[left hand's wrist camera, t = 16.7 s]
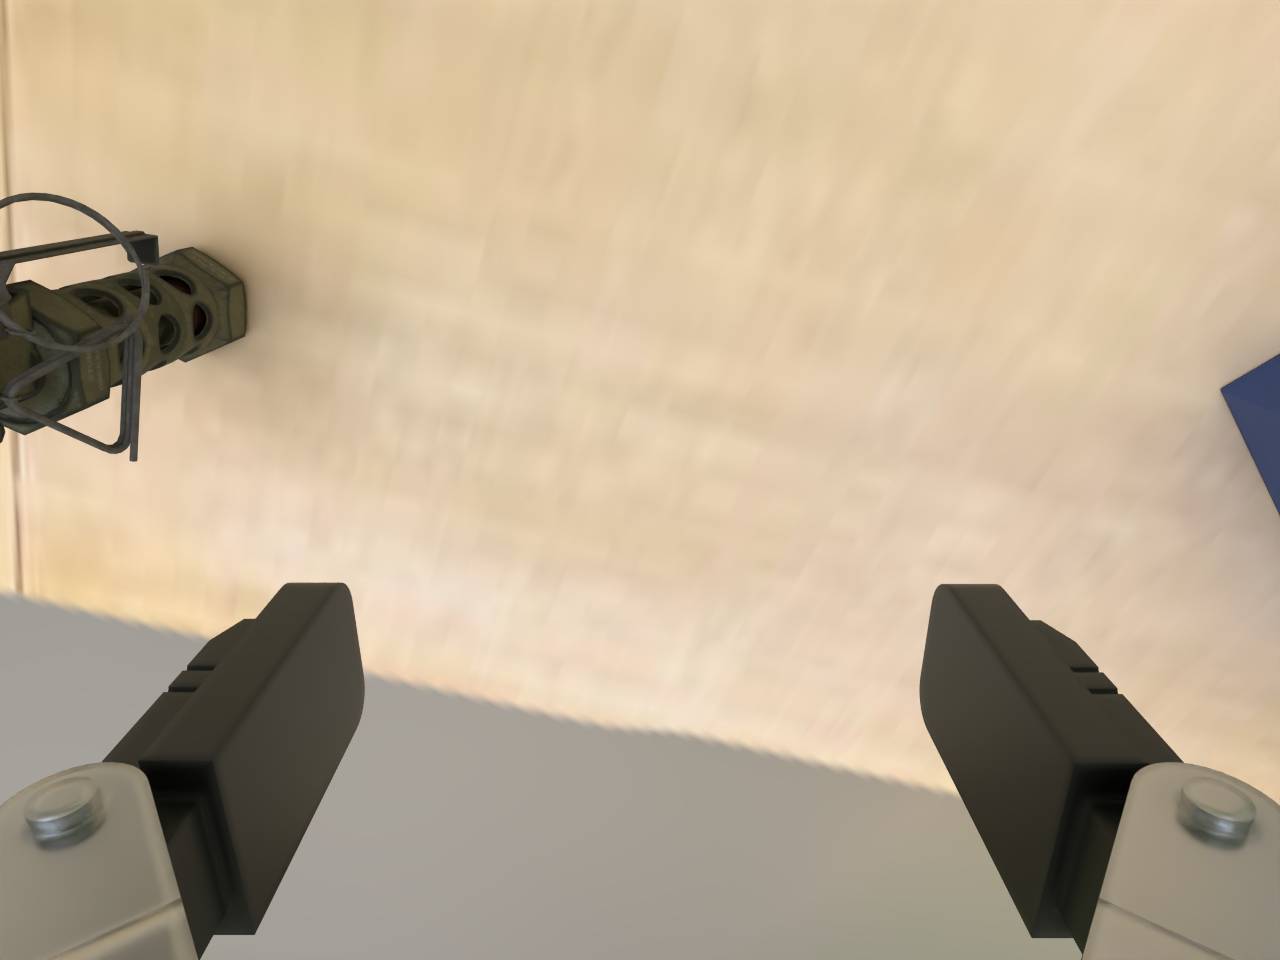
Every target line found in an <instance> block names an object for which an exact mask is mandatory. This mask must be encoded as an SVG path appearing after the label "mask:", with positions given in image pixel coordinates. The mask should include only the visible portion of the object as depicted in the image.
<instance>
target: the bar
mask: <svg viewBox="0 0 1280 960" xmlns="http://www.w3.org/2000/svg"><path fill="white" fill-rule="evenodd" d="M1221 391H1222V393H1223V396H1224V398H1225V400H1226V402H1227V404H1228V406H1229V408H1230V410H1231V412H1232V415H1233V417H1234V419H1235V421H1236V423H1237V425H1238V427H1239V429H1240V432H1241V434H1242V436H1243V438H1244V440H1245V442H1246V444H1247V446H1248V448H1249V451H1250V453H1251V455H1252V457H1253V459H1254V461H1255V463H1256V465H1257V467H1258V470H1259V472H1260V474H1261V476H1262V478H1263V480H1264V482H1265V484H1266V486H1267V489H1268V491H1269V493H1270V495H1271V497H1272V499H1273V501H1274V503H1275V506H1276V508H1277V510H1278V512H1279V514H1280V355H1278V356H1276V357H1275V358H1273V359H1271V360H1270V361H1268V362H1266V363H1264V364H1263V365H1261V366H1259V367H1258V368H1256V369H1254V370H1253V371H1251V372H1249V373H1247V374H1246V375H1244V376H1242V377H1241V378H1239V379H1237V380H1236V381H1234V382H1232V383H1231V384H1229V385H1227V386H1225V387H1224V388H1222V389H1221Z"/></svg>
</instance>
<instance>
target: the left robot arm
mask: <svg viewBox="0 0 1280 960" xmlns="http://www.w3.org/2000/svg"><path fill="white" fill-rule="evenodd" d="M364 692H365V686H364V675H363V668H362V661H361V655H360V648H359V641H358V634H357V628H356V621H355V614H354V608H353V601H352V596H351V593H350V590H349V588H348V587H347V585H346V584H344V583H287V584H285V585H284V586H283V587H282V588H281V589H280V590H279V591H278V592H277V594H276V595H275V596H274V597H273V598H272V600H271V601H270V602H269V603H268V604H267V606H266V607H265V608H264V609H263V610H262V612H261V613H260V614H259V615H258V616H257V618H256V619H243V620H242V621H240V622H239V623H237V624H235V625H234V626H232V627H231V628H229V629H227V630H226V631H224V632H222V633H221V634H219V635H218V636H216V637H214V638H213V639H211V640H210V641H209V642H208V643H207V644H206V645H205V646H204V647H203V649H202V650H201V651H200V652H199V653H198V654H197V655H196V656H195V658H194V659H193V660H192V661H191V662H190V663H189V664H188V666H187V671H182V672H181V673H180V674H179V676H178V677H177V678H176V679H175V680H174V681H173V682H172V683H171V685H170V686H169V690H168V692H163V694H162V695H161V696H160V697H159V698H158V699H157V700H156V701H155V703H154V704H153V705H152V706H151V707H150V708H149V709H148V710H147V712H146V713H145V714H144V715H143V716H142V717H141V718H140V719H139V721H138V722H137V723H136V724H135V725H134V726H133V727H132V728H131V730H130V731H129V732H128V733H127V734H126V735H125V736H124V737H123V739H122V740H121V741H120V742H119V743H118V744H117V745H116V746H115V748H114V749H113V750H112V751H111V752H110V753H109V754H108V755H107V757H106V758H105V759H104V760H103V761H102V762H101V763H93V764H87V765H82V766H78V767H74V768H70V769H67V770H64V771H61V772H58V773H56V774H53V775H51V776H48V777H46V778H44V779H41V780H40V781H37V782H35V783H33V784H31V785H30V786H28V787H26V788H25V789H23V790H21V791H19V792H18V793H16V794H15V795H14V796H12V797H11V798H9V799H8V800H7V801H5V802H4V803H3V804H2V805H1V806H0V960H200V958H201V957H202V955H203V953H204V951H205V949H206V947H207V946H208V944H209V942H210V940H211V938H212V937H213V935H255V933H256V931H257V929H258V927H259V925H260V923H261V921H262V919H263V917H264V915H265V913H266V911H267V909H268V907H269V905H270V903H271V901H272V899H273V896H274V895H275V893H276V890H277V888H278V886H279V884H280V882H281V880H282V878H283V876H284V874H285V872H286V870H287V868H288V866H289V864H290V862H291V860H292V858H293V856H294V854H295V852H296V850H297V848H298V846H299V844H300V842H301V840H302V838H303V836H304V834H305V832H306V830H307V828H308V826H309V824H310V822H311V820H312V818H313V816H314V814H315V812H316V810H317V808H318V806H319V804H320V802H321V800H322V798H323V796H324V794H325V792H326V790H327V787H328V785H329V783H330V781H331V779H332V777H333V775H334V773H335V771H336V769H337V767H338V765H339V763H340V761H341V759H342V757H343V755H344V753H345V751H346V749H347V747H348V745H349V743H350V741H351V739H352V737H353V735H354V733H355V731H356V729H357V727H358V724H359V721H360V718H361V715H362V710H363V704H364ZM920 704H921V710H922V715H923V719H924V722H925V725H926V728H927V730H928V732H929V734H930V736H931V738H932V740H933V742H934V744H935V746H936V748H937V750H938V752H939V754H940V756H941V758H942V760H943V762H944V764H945V766H946V768H947V770H948V772H949V774H950V776H951V778H952V780H953V782H954V784H955V786H956V788H957V790H958V792H959V794H960V796H961V798H962V800H963V802H964V804H965V806H966V808H967V810H968V812H969V814H970V816H971V818H972V820H973V822H974V824H975V826H976V828H977V830H978V832H979V834H980V836H981V838H982V840H983V842H984V844H985V846H986V848H987V850H988V852H989V854H990V856H991V858H992V860H993V862H994V864H995V866H996V868H997V870H998V871H999V874H1000V876H1001V878H1002V880H1003V882H1004V884H1005V886H1006V888H1007V889H1008V891H1009V894H1010V895H1011V897H1012V899H1013V902H1014V903H1015V905H1016V908H1017V910H1018V911H1019V913H1020V915H1021V917H1022V919H1023V921H1024V923H1025V925H1026V927H1027V929H1028V931H1029V933H1030V935H1031V937H1032V938H1074V940H1075V942H1076V944H1077V946H1078V947H1079V949H1080V951H1081V953H1082V958H1081V960H1280V806H1279V805H1278V804H1277V803H1276V802H1275V801H1274V800H1272V799H1271V798H1269V797H1268V796H1266V795H1265V794H1264V793H1262V792H1261V791H1259V790H1257V789H1255V788H1254V787H1252V786H1250V785H1249V784H1247V783H1245V782H1243V781H1241V780H1239V779H1236V778H1234V777H1232V776H1229V775H1227V774H1224V773H1222V772H1219V771H1216V770H1213V769H1210V768H1206V767H1202V766H1198V765H1193V764H1187V763H1184V762H1183V761H1182V760H1181V759H1180V758H1179V757H1178V756H1177V754H1176V753H1175V752H1174V751H1173V750H1172V749H1171V748H1170V747H1169V746H1168V744H1167V743H1166V742H1165V741H1164V740H1163V739H1162V738H1161V737H1160V736H1159V734H1158V733H1157V732H1156V731H1155V730H1154V729H1153V728H1152V727H1151V725H1150V724H1149V723H1148V722H1147V721H1146V720H1145V719H1144V718H1143V717H1142V715H1141V714H1140V713H1139V712H1138V711H1137V710H1136V709H1135V708H1134V707H1133V705H1132V704H1131V703H1130V702H1129V701H1128V700H1127V699H1126V698H1125V696H1124V695H1123V694H1118V692H1117V688H1116V686H1115V685H1114V684H1113V683H1112V682H1111V681H1110V680H1109V679H1108V678H1107V676H1106V675H1105V674H1104V673H1099V671H1098V666H1097V665H1096V664H1095V663H1094V662H1093V661H1092V660H1091V659H1090V657H1089V656H1088V655H1087V654H1086V653H1085V652H1084V651H1083V650H1082V649H1081V647H1080V646H1079V645H1078V644H1077V643H1076V642H1075V641H1073V640H1072V639H1070V638H1068V637H1067V636H1065V635H1063V634H1062V633H1060V632H1059V631H1057V630H1055V629H1054V628H1052V627H1051V626H1049V625H1047V624H1046V623H1044V622H1042V621H1041V620H1029V619H1028V618H1027V616H1026V615H1025V614H1024V613H1023V612H1022V611H1021V609H1020V608H1019V607H1018V606H1017V605H1016V603H1015V602H1014V601H1013V600H1012V599H1011V597H1010V596H1009V595H1008V594H1007V593H1006V591H1005V590H1004V589H1003V588H1002V587H1001V586H999V585H997V584H941V585H939V586H938V587H937V589H936V590H935V593H934V596H933V600H932V605H931V612H930V618H929V625H928V631H927V638H926V645H925V651H924V658H923V664H922V671H921V678H920Z"/></svg>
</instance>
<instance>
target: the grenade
mask: <svg viewBox="0 0 1280 960" xmlns="http://www.w3.org/2000/svg"><path fill="white" fill-rule="evenodd" d="M28 200H40V201H51V202H55V203H59V204H62V205H65V206H69V207H72V208H74V209H76V210H79V211H81V212H82V213H84V214H86V215H88V216H89V217H91V218H93V219H94V220H96V221H97V222H98V223H100V224H101V225H102V226H104V227H105V228H106V229H107V230H108V231H109V232H110V233H111V234H105V235H99V236H93V237H87V238H81V239H75V240H69V241H63V242H57V243H51V244H45V245H39V246H33V247H27V248H21V249H15V250H9V251H3V252H0V443H1V442H2V441H3V438H4V435H5V429H4V426H5V427H7V428H9V429H11V430H14V431H16V432H18V433H21V434H23V435H27V434H29V433H31V432H34V431H36V430H38V429H41V428H43V427H45V426H49V427H51V428H53V429H55V430H57V431H60V432H62V433H64V434H66V435H69V436H71V437H73V438H75V439H78V440H80V441H82V442H84V443H87V444H89V445H91V446H93V447H95V448H98V449H100V450H102V451H105V452H108V453H110V454H117V453H121V452H123V451H124V450H126V449H127V448H128V446H129V445H130V461H132V462H134V461H137V453H138V432H139V411H140V390H141V375H143V374H145V373H146V372H147V371H151V370H155V369H157V368H160V367H162V366H165V365H167V364H169V363H172V362H174V361H175V360H177V359H179V360H181V361H183V362H188V361H190V360H192V359H195V358H197V357H199V356H201V355H204V354H206V353H208V352H211V351H213V350H215V349H218V348H220V347H222V346H224V345H227V344H229V343H231V342H233V341H236V340H238V339H240V338H242V337H244V336H245V329H246V302H245V293H244V287H243V282H242V281H241V280H240V279H239V278H237V277H236V276H235V275H234V274H233V273H232V272H230V271H229V270H228V269H226V268H225V267H223V266H222V265H221V264H219V263H218V262H216V261H215V260H213V259H212V258H210V257H209V256H207V255H205V254H204V253H202V252H200V251H198V250H197V249H195V248H193V247H190V248H185V249H180V250H176V251H174V252H171V253H169V254H167V255H164V256H162V257H160V258H159V248H158V236H156V235H149V234H145V233H144V232H143V231H132V232H128V231H123V232H120V231H119V230H118V229H117V228H116V227H115V226H114V225H113V224H112V223H111V222H110V221H109V220H107V219H106V218H105V217H103V216H102V215H101V214H99V213H98V212H96V211H94V210H93V209H91V208H89V207H87V206H86V205H84V204H81V203H79V202H77V201H74V200H72V199H69V198H65V197H62V196H58V195H53V194H47V193H24V194H18V195H14V196H10V197H7V198H5V199H2V200H0V209H1V208H3V207H5V206H7V205H10V204H12V203H14V202H21V201H28ZM117 244H121V245H122V246H123V248H124V249H125V250H126V252H127V257H128V261H130V262H134V263H136V265H137V267H138V268H136V269H134V270H132V271H130V272H127V273H122V274H117V275H113V276H108V277H106V278H103V279H99V280H92V281H87V282H82V283H78V284H73V285H69V286H65V287H62V288H59V289H56V290H50V289H48V288H46V287H44V286H42V285H40V284H38V283H36V282H34V281H32V280H27V281H22V282H17V283H12V284H7V285H6V282H7V280H8V278H9V276H10V273H11V271H12V269H13V267H14V265H15V264H16V263H21V262H27V261H32V260H37V259H43V258H48V257H53V256H59V255H64V254H69V253H75V252H80V251H85V250H91V249H96V248H101V247H107V246H112V245H117ZM142 264H144V265H142ZM121 384H122V400H121V422H120V435H119V437H118V440H117V442H115V443H114V444H113V445H106V444H104V443H102V442H100V441H97V440H95V439H93V438H91V437H89V436H86V435H84V434H82V433H80V432H78V431H76V430H73V429H71V428H69V427H67V426H65V425H62V424H60V423H58V422H57V421H59V420H61V419H64V418H66V417H68V416H70V415H73V414H75V413H77V412H80V411H82V410H84V409H86V408H89V407H91V406H93V405H95V404H97V403H100V402H102V401H104V400H106V399H108V398H109V396H110V388H111V387H115V386H118V385H121Z"/></svg>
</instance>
